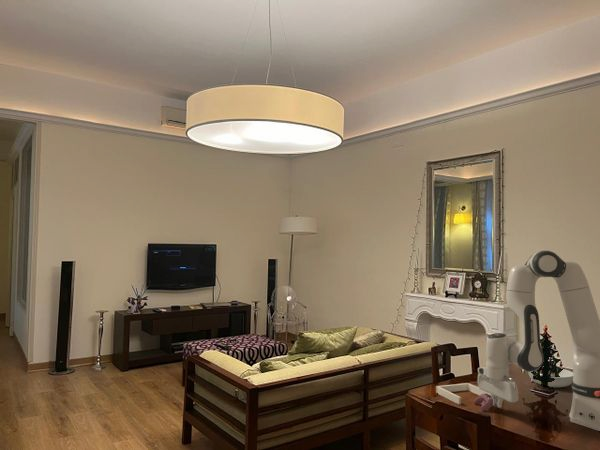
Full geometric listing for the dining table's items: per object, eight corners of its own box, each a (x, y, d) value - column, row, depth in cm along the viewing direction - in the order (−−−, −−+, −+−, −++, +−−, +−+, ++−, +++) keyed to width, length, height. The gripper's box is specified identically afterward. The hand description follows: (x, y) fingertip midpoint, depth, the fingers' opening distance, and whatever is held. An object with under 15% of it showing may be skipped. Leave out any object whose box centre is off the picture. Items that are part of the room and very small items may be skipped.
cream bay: (493, 400, 214) (493, 393, 214) (458, 404, 208) (458, 397, 208) (468, 389, 230) (468, 382, 230) (435, 392, 224) (435, 386, 224)
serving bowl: (533, 377, 253) (533, 364, 253) (578, 384, 240) (578, 370, 240) (523, 385, 237) (522, 371, 237) (570, 394, 223) (570, 379, 224)
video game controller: (490, 415, 199) (497, 400, 199) (480, 410, 199) (487, 395, 199) (481, 407, 209) (488, 393, 209) (472, 402, 209) (479, 388, 209)
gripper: (522, 379, 190) (522, 414, 189) (486, 366, 209) (486, 398, 208) (509, 380, 188) (509, 415, 187) (474, 367, 207) (475, 399, 206)
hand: (497, 406), depth 198 cm, fingers closed
